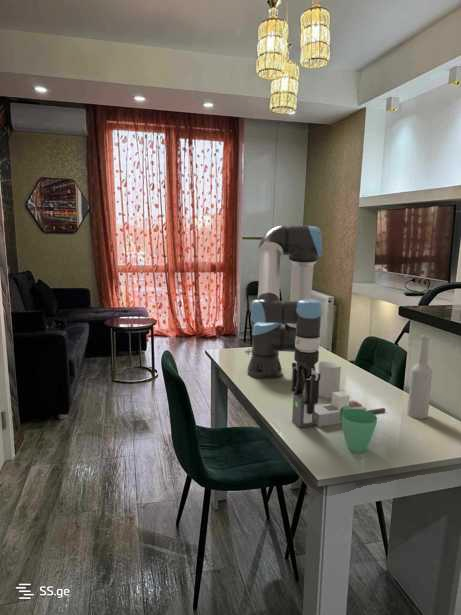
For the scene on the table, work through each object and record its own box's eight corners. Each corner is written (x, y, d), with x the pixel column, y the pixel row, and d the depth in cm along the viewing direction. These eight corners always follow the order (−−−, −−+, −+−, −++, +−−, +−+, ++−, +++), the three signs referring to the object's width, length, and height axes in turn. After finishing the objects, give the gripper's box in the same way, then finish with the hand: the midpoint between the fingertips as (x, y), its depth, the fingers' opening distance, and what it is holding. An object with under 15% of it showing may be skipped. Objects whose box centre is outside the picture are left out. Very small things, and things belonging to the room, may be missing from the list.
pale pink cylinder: (339, 399, 159) (341, 368, 157) (317, 397, 161) (319, 366, 159) (338, 391, 167) (340, 362, 165) (317, 389, 169) (319, 360, 167)
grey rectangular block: (291, 421, 139) (293, 395, 137) (313, 417, 142) (315, 392, 140) (299, 427, 134) (300, 400, 133) (322, 424, 137) (323, 397, 136)
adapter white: (331, 405, 143) (332, 392, 142) (341, 403, 144) (342, 391, 143) (338, 409, 139) (339, 396, 138) (348, 408, 140) (349, 395, 140)
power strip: (307, 417, 142) (308, 404, 141) (378, 407, 152) (379, 395, 151) (318, 426, 136) (319, 413, 135) (391, 415, 146) (393, 402, 145)
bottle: (407, 409, 151) (415, 332, 146) (428, 413, 148) (436, 335, 143) (406, 416, 145) (414, 336, 140) (427, 420, 142) (436, 339, 137)
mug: (381, 455, 118) (384, 422, 117) (348, 458, 116) (351, 424, 115) (355, 431, 133) (358, 401, 131) (326, 434, 131) (328, 403, 129)
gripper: (282, 342, 140) (279, 409, 144) (311, 358, 123) (307, 432, 127) (302, 341, 143) (298, 406, 147) (333, 356, 126) (328, 429, 130)
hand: (302, 418), depth 137 cm, fingers closed on grey rectangular block, 5 cm apart
